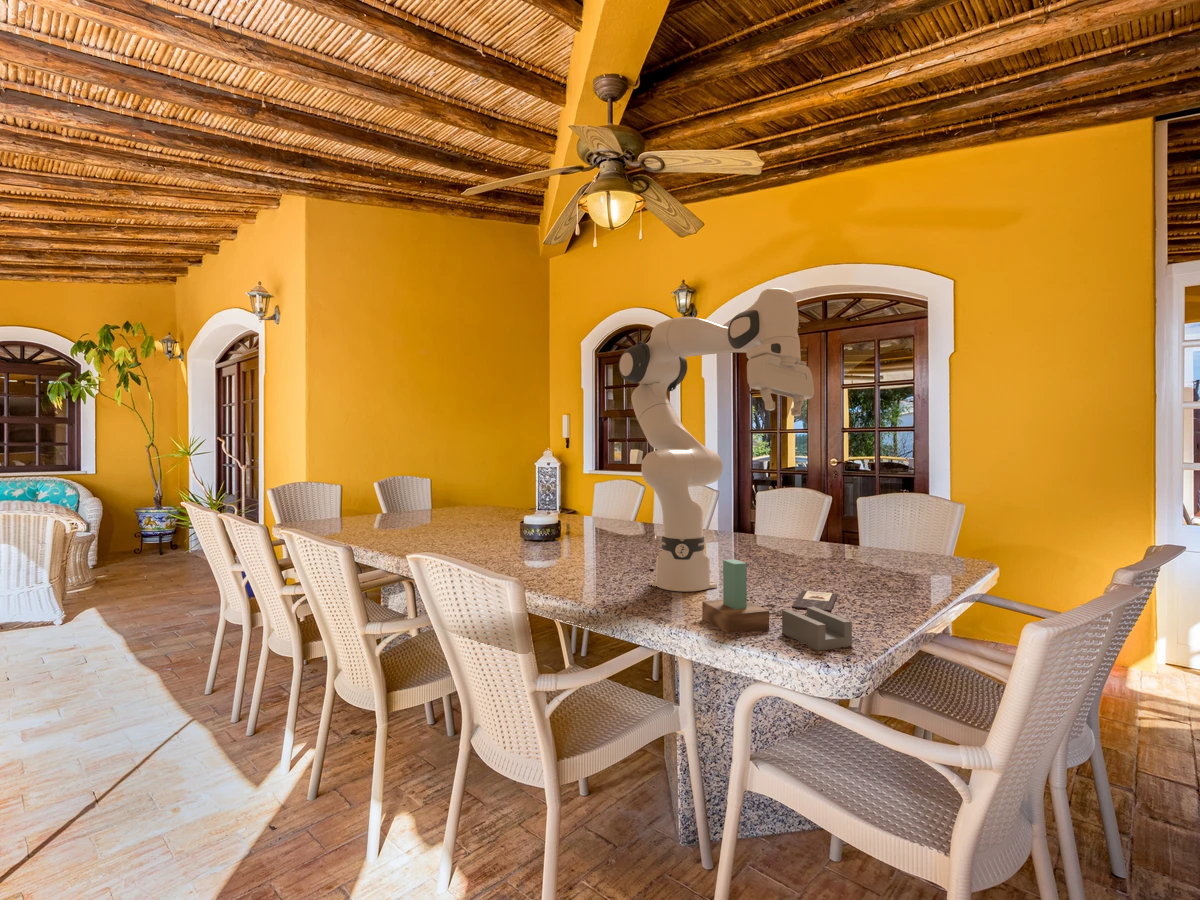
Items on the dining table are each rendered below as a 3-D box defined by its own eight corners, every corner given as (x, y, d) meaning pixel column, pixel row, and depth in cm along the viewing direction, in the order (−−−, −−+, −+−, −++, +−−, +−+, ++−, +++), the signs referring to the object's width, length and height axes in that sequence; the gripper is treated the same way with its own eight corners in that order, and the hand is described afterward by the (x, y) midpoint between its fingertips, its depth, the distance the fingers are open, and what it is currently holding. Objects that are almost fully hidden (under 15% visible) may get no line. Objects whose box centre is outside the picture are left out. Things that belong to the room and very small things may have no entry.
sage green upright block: (723, 603, 144) (723, 560, 144) (735, 602, 145) (734, 559, 145) (734, 609, 140) (734, 564, 139) (746, 608, 141) (746, 563, 140)
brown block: (702, 618, 147) (702, 601, 147) (740, 614, 150) (740, 597, 150) (728, 633, 135) (728, 615, 135) (769, 629, 138) (769, 610, 138)
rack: (782, 633, 135) (782, 609, 135) (813, 629, 138) (813, 606, 138) (817, 650, 124) (817, 625, 124) (851, 646, 126) (851, 621, 126)
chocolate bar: (791, 606, 155) (802, 590, 172) (791, 610, 155) (802, 594, 172) (830, 610, 151) (837, 593, 168) (830, 614, 152) (837, 597, 168)
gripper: (797, 366, 157) (800, 421, 154) (741, 350, 145) (743, 409, 142) (819, 360, 152) (822, 416, 149) (763, 342, 140) (766, 403, 137)
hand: (783, 412), depth 146 cm, fingers open, 8 cm apart
